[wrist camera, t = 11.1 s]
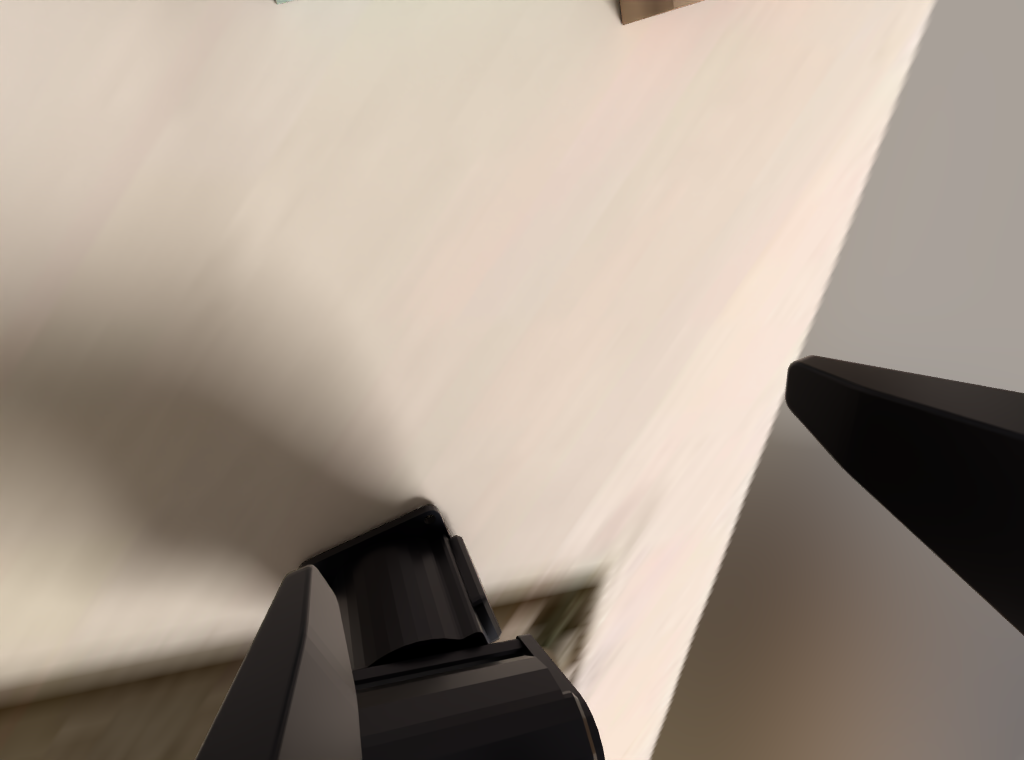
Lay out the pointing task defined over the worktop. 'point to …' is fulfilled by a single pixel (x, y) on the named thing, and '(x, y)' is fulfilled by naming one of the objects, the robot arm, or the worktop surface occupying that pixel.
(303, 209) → the worktop surface
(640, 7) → the walnut socket
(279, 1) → the green square socket
